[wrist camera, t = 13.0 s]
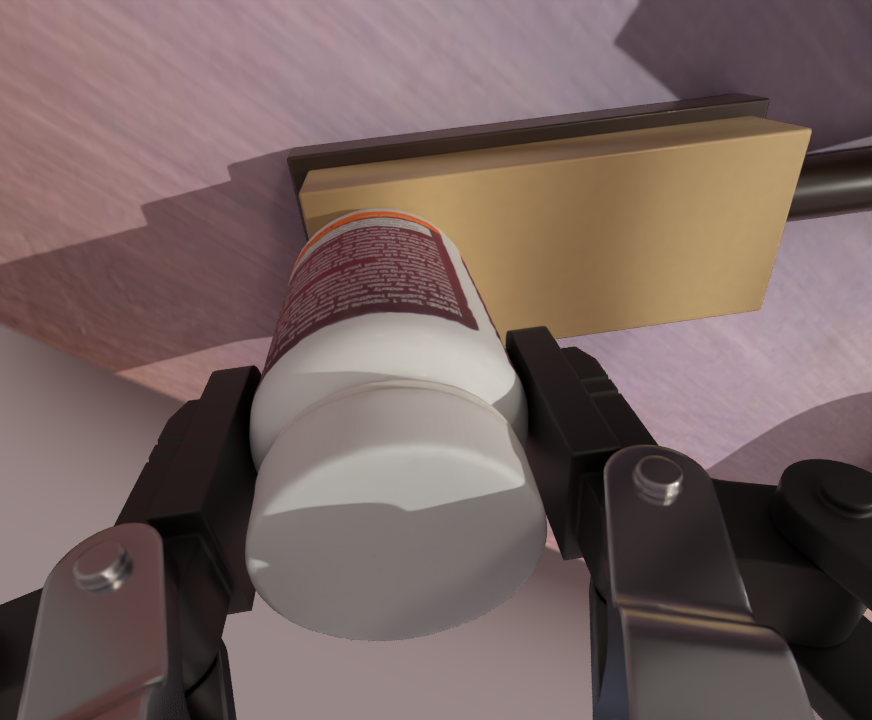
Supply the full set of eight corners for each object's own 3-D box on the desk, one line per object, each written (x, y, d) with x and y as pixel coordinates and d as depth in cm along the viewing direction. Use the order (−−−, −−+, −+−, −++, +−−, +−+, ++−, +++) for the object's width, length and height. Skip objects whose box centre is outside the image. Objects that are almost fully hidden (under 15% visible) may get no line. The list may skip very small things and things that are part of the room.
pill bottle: (254, 301, 13) (132, 592, 6) (372, 162, 12) (383, 341, 5) (389, 393, 16) (410, 689, 8) (503, 285, 14) (645, 535, 7)
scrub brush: (333, 321, 19) (326, 384, 15) (292, 147, 15) (271, 178, 12) (902, 242, 20) (1014, 285, 16) (979, 63, 16) (1138, 70, 13)
